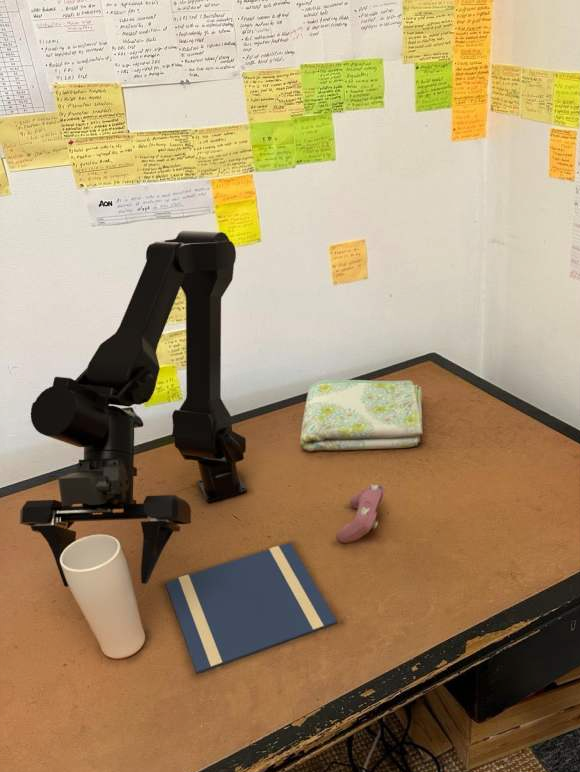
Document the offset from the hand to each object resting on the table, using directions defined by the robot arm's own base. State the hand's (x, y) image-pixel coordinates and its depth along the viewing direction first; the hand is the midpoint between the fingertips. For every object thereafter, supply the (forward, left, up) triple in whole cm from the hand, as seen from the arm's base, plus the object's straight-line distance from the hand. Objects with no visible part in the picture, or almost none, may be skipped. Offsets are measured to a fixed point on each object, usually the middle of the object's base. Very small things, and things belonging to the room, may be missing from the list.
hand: (106, 585), depth 88 cm
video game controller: (-7, +36, -9) cm, 38 cm away
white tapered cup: (+1, 0, -9) cm, 9 cm away
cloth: (+1, +16, -9) cm, 18 cm away
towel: (-34, +48, -9) cm, 59 cm away
